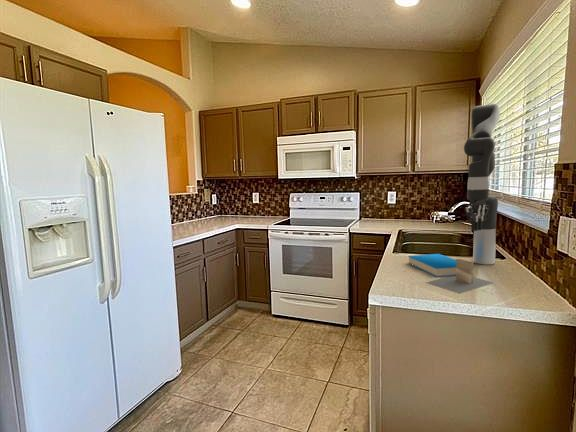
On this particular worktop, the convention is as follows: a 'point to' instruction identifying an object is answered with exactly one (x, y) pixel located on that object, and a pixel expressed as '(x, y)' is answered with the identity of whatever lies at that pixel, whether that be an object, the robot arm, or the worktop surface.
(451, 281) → the mat
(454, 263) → the book
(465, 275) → the tile
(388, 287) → the worktop surface
